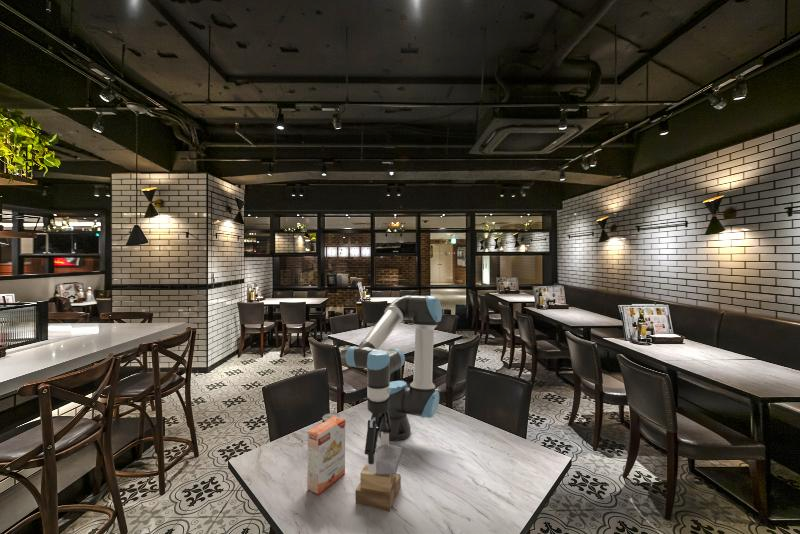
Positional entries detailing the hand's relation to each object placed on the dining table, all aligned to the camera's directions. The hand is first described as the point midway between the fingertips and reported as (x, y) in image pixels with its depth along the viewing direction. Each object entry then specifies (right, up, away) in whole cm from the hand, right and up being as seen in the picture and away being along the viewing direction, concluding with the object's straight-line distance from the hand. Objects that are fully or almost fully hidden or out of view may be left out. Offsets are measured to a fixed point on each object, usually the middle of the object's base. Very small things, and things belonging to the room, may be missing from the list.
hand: (378, 461), depth 111 cm
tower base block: (0, -13, +1) cm, 13 cm away
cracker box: (-19, -12, +8) cm, 24 cm away
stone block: (+2, -1, -1) cm, 2 cm away
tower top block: (0, -8, 0) cm, 8 cm away
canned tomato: (-24, -12, +35) cm, 44 cm away
